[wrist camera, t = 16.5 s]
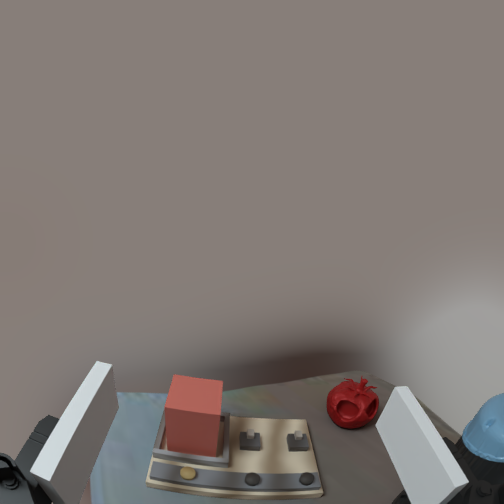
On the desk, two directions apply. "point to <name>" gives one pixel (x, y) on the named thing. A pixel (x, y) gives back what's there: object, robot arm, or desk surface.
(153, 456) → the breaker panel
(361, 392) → the pomegranate
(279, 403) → the desk surface
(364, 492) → the desk surface
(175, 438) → the tall red rectangular block
